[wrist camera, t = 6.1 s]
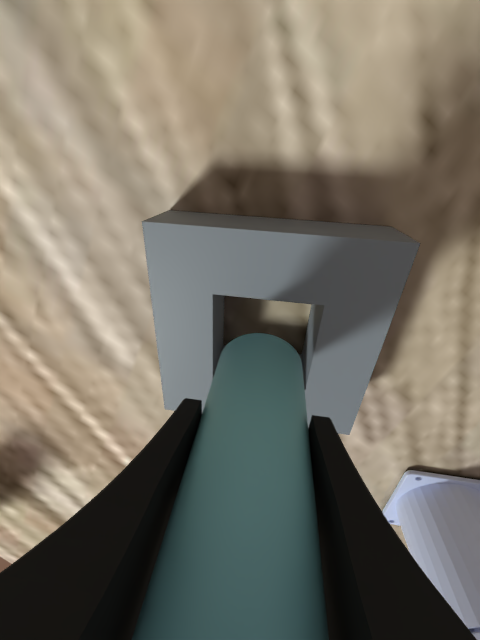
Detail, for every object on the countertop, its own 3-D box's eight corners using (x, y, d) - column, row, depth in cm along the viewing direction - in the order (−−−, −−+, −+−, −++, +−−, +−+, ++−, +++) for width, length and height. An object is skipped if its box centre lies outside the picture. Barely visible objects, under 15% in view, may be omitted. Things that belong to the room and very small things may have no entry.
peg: (308, 338, 12) (372, 764, 4) (295, 402, 14) (317, 774, 6) (218, 328, 13) (83, 697, 4) (219, 393, 15) (129, 728, 6)
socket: (391, 226, 14) (420, 243, 11) (339, 394, 20) (349, 434, 17) (168, 210, 16) (141, 221, 13) (181, 374, 22) (164, 409, 18)
